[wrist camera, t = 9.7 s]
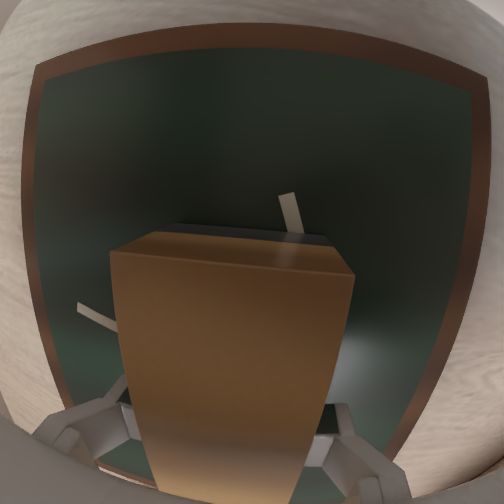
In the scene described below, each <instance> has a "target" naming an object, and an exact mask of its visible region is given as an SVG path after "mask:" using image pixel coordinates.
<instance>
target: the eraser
mask: <svg viewBox="0 0 504 504" xmlns="http://www.w3.org/2000/svg"><path fill="white" fill-rule="evenodd" d="M110 266H111V279H112V290H113V300H114V308H115V316H116V324H117V331H118V337H119V344H120V350H121V355H122V361H123V366H124V371H125V376H126V381H127V385H128V390H129V394H130V399H131V403H132V407H133V411H134V415H135V419H136V422H137V426H138V429H139V433H140V436H141V440H142V443H143V446H144V450H145V453H146V456H147V459H148V462H149V465H150V468H151V471H152V473H153V476H154V479H155V482H156V484H157V487H158V490H159V491H161V492H165V493H169V494H173V495H177V496H181V497H185V498H189V499H194V500H199V501H204V502H209V503H215V504H288V503H289V501H290V499H291V496H292V494H293V492H294V489H295V487H296V484H297V482H298V479H299V477H300V474H301V472H302V469H303V467H304V464H305V462H306V459H307V456H308V453H309V451H310V448H311V445H312V442H313V439H314V436H315V434H316V431H317V428H318V425H319V421H320V418H321V415H322V412H323V409H324V406H325V402H326V399H327V396H328V392H329V389H330V385H331V382H332V378H333V374H334V371H335V367H336V363H337V359H338V355H339V351H340V347H341V343H342V339H343V335H344V330H345V326H346V321H347V317H348V312H349V307H350V302H351V297H352V292H353V286H354V281H355V275H354V273H353V272H352V270H351V269H350V268H349V266H348V265H347V264H346V262H345V261H344V260H343V258H342V257H341V256H340V254H339V253H338V252H337V250H336V249H335V248H334V246H333V245H332V244H331V242H330V241H329V240H328V238H327V237H326V236H324V235H314V234H304V233H293V232H282V231H271V230H260V229H248V228H236V227H224V226H211V225H197V224H184V223H172V224H170V225H168V226H165V227H163V228H161V229H159V230H156V231H154V232H152V233H149V234H147V235H145V236H143V237H140V238H138V239H136V240H134V241H131V242H129V243H127V244H125V245H123V246H120V247H118V248H116V249H114V250H112V251H110Z"/></svg>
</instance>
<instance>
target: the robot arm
mask: <svg viewBox="0 0 504 504" xmlns="http://www.w3.org/2000/svg"><path fill="white" fill-rule="evenodd" d="M129 438H132V439H136V440H140V441H142V440H141V436H140V433H139V429H138V426H137V422H136V419H135V415H134V411H133V407H132V403H131V399H130V394H129V390H128V385H127V381H126V376H125V373H124V374H122V375H121V376H120V377H119V378H118V379H117V381H116V382H115V383H114V385H113V386H112V387H111V388H110V390H109V391H108V392H107V394H106V395H105V396H104V397H103V399H102V398H97V399H94V400H91V401H88V402H86V403H83V404H80V405H77V406H74V407H72V408H69V409H66V410H63V411H60V412H57V413H54V414H51V415H49V416H48V417H47V418H46V419H45V420H44V421H43V422H42V423H41V425H40V426H39V427H38V428H37V429H36V430H35V431H34V433H33V434H32V435H31V434H30V433H28V432H26V431H25V430H23V429H22V428H20V427H19V426H17V425H16V424H14V423H13V422H11V421H10V420H9V419H7V418H6V417H4V416H3V415H1V414H0V504H215V503H209V502H204V501H199V500H194V499H189V498H185V497H181V496H177V495H173V494H169V493H165V492H161V491H158V490H154V489H151V488H148V487H145V486H141V485H138V484H135V483H132V482H130V481H127V480H124V479H121V478H119V477H116V476H113V475H111V474H108V473H106V472H103V471H101V470H100V469H99V467H98V466H97V464H96V462H95V459H96V458H98V457H100V456H102V455H103V454H105V453H107V452H108V451H110V450H112V449H114V448H115V447H117V446H119V445H120V444H122V443H124V442H125V441H127V440H128V439H129ZM304 466H307V467H322V469H323V470H324V471H325V473H326V474H327V475H328V476H329V478H330V479H331V480H332V481H333V483H334V484H335V485H336V486H337V488H338V489H339V490H340V491H341V492H342V494H343V495H344V496H345V497H346V498H345V499H344V501H343V502H342V503H341V504H504V467H502V468H500V469H498V470H496V471H493V472H491V473H489V474H486V475H484V476H482V477H479V478H477V479H474V480H471V481H469V482H466V483H463V484H460V485H457V486H454V487H451V488H448V489H445V490H442V491H438V492H435V493H431V494H428V495H424V496H420V497H416V498H412V496H411V492H410V489H409V485H408V482H407V479H406V475H405V472H404V470H402V469H401V468H400V467H398V466H397V465H396V464H395V463H393V462H392V461H391V460H390V459H388V458H387V457H386V456H385V455H383V454H382V453H381V452H380V451H378V450H377V449H376V448H375V447H373V446H372V445H371V444H370V443H369V442H367V441H366V440H365V439H364V438H363V437H361V436H360V435H356V434H355V429H354V425H353V421H352V417H351V413H350V408H349V405H348V404H347V403H325V406H324V409H323V412H322V415H321V418H320V421H319V425H318V428H317V431H316V434H315V436H314V439H313V442H312V445H311V448H310V451H309V453H308V456H307V459H306V462H305V464H304Z"/></svg>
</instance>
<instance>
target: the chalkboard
mask: <svg viewBox="0 0 504 504" xmlns="http://www.w3.org/2000/svg"><path fill="white" fill-rule="evenodd" d="M490 172H491V115H490V101H489V90H488V81H487V78H486V77H485V76H483V75H481V74H479V73H476V72H474V71H472V70H470V69H468V68H465V67H463V66H461V65H459V64H456V63H454V62H451V61H449V60H446V59H444V58H441V57H438V56H436V55H433V54H430V53H427V52H424V51H421V50H418V49H415V48H412V47H409V46H406V45H402V44H399V43H395V42H392V41H388V40H384V39H380V38H376V37H371V36H367V35H362V34H357V33H352V32H347V31H341V30H335V29H328V28H321V27H313V26H304V25H293V24H278V23H217V24H203V25H191V26H182V27H174V28H167V29H160V30H154V31H149V32H143V33H138V34H133V35H129V36H124V37H120V38H116V39H112V40H108V41H104V42H100V43H97V44H93V45H90V46H87V47H84V48H80V49H77V50H74V51H71V52H69V53H66V54H63V55H60V56H57V57H55V58H52V59H50V60H47V61H45V62H42V63H40V64H37V65H36V67H35V71H34V75H33V80H32V85H31V90H30V95H29V101H28V107H27V114H26V121H25V129H24V139H23V151H22V170H21V209H22V228H23V241H24V251H25V259H26V267H27V274H28V280H29V286H30V292H31V297H32V302H33V307H34V311H35V316H36V320H37V324H38V328H39V332H40V336H41V340H42V343H43V347H44V350H45V354H46V357H47V360H48V363H49V366H50V369H51V372H52V375H53V378H54V381H55V384H56V386H57V389H58V392H59V394H60V397H61V399H62V402H63V404H64V407H65V409H69V408H72V407H74V406H77V405H80V404H83V403H86V402H88V401H91V400H94V399H97V398H102V399H103V397H104V396H105V395H106V394H107V392H108V391H109V390H110V388H111V387H112V386H113V385H114V383H115V382H116V381H117V379H118V378H119V377H120V376H121V375H122V374H124V373H125V371H124V366H123V361H122V355H121V350H120V344H119V337H118V331H117V324H116V316H115V308H114V300H113V290H112V279H111V266H110V251H112V250H114V249H116V248H118V247H120V246H123V245H125V244H127V243H129V242H131V241H134V240H136V239H138V238H140V237H143V236H145V235H147V234H149V233H152V232H154V231H156V230H159V229H161V228H163V227H165V226H168V225H170V224H172V223H184V224H197V225H211V226H224V227H236V228H248V229H260V230H271V231H282V232H293V233H304V234H314V235H324V236H326V237H327V238H328V240H329V241H330V242H331V244H332V245H333V246H334V248H335V249H336V250H337V252H338V253H339V254H340V256H341V257H342V258H343V260H344V261H345V262H346V264H347V265H348V266H349V268H350V269H351V270H352V272H353V273H354V275H355V281H354V286H353V292H352V297H351V302H350V307H349V312H348V317H347V321H346V326H345V330H344V335H343V339H342V343H341V347H340V351H339V355H338V359H337V363H336V367H335V371H334V374H333V378H332V382H331V385H330V389H329V392H328V396H327V399H326V402H325V403H347V404H348V405H349V408H350V413H351V417H352V421H353V425H354V429H355V434H356V435H360V436H361V437H363V438H364V439H365V440H366V441H367V442H369V443H370V444H371V445H372V446H373V447H375V448H376V449H377V450H378V451H380V452H381V453H382V454H383V455H385V456H386V457H387V458H388V459H390V460H391V461H393V459H394V458H395V457H396V455H397V453H398V452H399V450H400V449H401V447H402V446H403V444H404V443H405V441H406V439H407V438H408V436H409V434H410V433H411V431H412V429H413V428H414V426H415V424H416V423H417V421H418V419H419V417H420V415H421V414H422V412H423V410H424V408H425V406H426V404H427V402H428V400H429V398H430V396H431V394H432V392H433V390H434V388H435V386H436V384H437V382H438V380H439V377H440V375H441V373H442V371H443V369H444V366H445V364H446V361H447V359H448V357H449V354H450V352H451V349H452V347H453V344H454V341H455V339H456V336H457V333H458V330H459V328H460V325H461V322H462V319H463V316H464V313H465V309H466V306H467V303H468V300H469V296H470V292H471V289H472V285H473V281H474V277H475V273H476V269H477V265H478V260H479V256H480V251H481V246H482V240H483V234H484V228H485V222H486V215H487V207H488V198H489V187H490ZM95 462H96V464H97V466H99V467H102V468H104V469H107V470H109V471H112V472H114V473H117V474H119V475H122V476H125V477H128V478H130V479H133V480H136V481H139V482H142V483H145V484H148V485H152V486H155V487H157V484H156V482H155V479H154V476H153V473H152V471H151V468H150V465H149V462H148V459H147V456H146V453H145V450H144V446H143V443H142V441H140V440H136V439H132V438H129V439H128V440H127V441H125V442H124V443H122V444H120V445H119V446H117V447H115V448H114V449H112V450H110V451H108V452H107V453H105V454H103V455H102V456H100V457H98V458H96V459H95ZM345 498H346V497H345V496H344V495H343V494H342V492H341V491H340V490H339V489H338V488H337V486H336V485H335V484H334V483H333V481H332V480H331V479H330V478H329V476H328V475H327V474H326V473H325V471H324V470H323V469H322V467H307V466H304V467H303V469H302V472H301V474H300V477H299V479H298V482H297V484H296V487H295V489H294V492H293V494H292V496H291V499H290V501H289V503H288V504H341V503H342V502H343V501H344V499H345Z"/></svg>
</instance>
